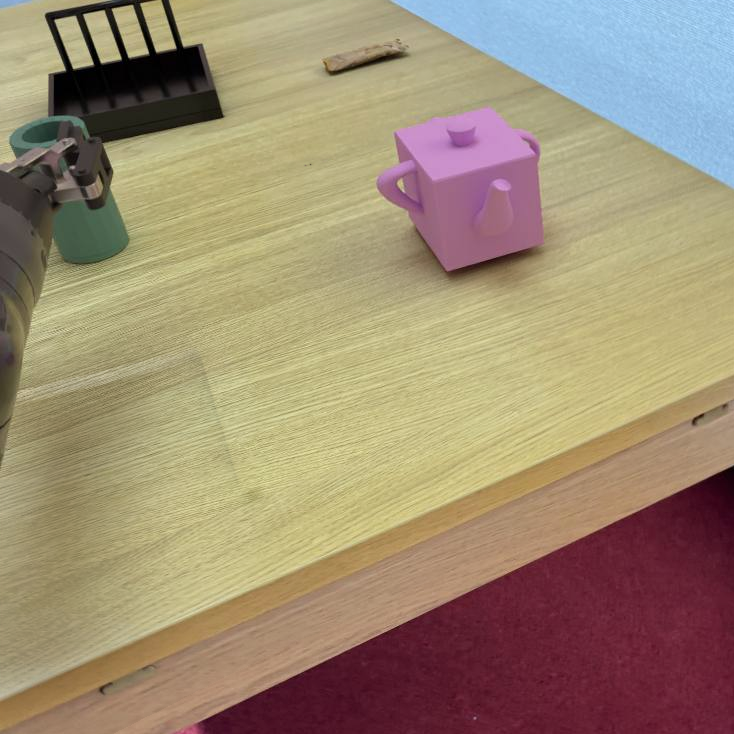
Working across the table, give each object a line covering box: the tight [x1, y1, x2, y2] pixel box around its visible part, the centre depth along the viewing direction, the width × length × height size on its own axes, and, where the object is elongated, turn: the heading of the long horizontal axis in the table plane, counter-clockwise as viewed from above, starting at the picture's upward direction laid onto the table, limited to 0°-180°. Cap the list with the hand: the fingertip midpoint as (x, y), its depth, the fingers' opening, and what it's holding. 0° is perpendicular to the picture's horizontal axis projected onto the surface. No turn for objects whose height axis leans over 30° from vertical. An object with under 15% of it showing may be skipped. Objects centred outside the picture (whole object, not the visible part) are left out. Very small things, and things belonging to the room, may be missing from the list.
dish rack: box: [44, 0, 225, 144], centre depth 111 cm, size 17×14×9 cm
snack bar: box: [321, 38, 410, 72], centre depth 118 cm, size 10×2×3 cm
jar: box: [8, 116, 130, 265], centre depth 90 cm, size 6×6×10 cm
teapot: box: [375, 106, 545, 272], centre depth 85 cm, size 18×14×10 cm
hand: (11, 144), depth 76 cm, fingers open, 8 cm apart
